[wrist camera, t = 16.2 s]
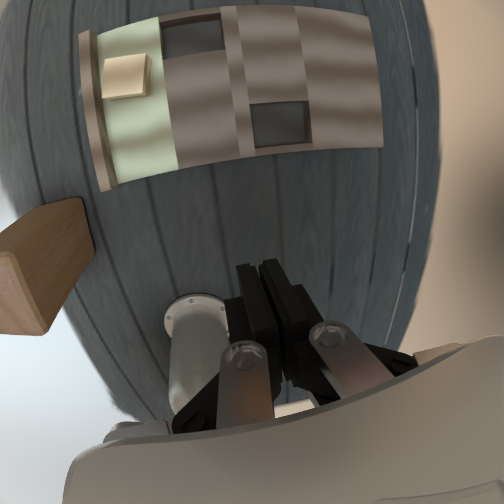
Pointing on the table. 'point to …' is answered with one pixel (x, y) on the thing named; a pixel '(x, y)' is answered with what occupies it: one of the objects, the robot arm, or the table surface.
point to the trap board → (232, 88)
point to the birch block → (126, 77)
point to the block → (41, 265)
